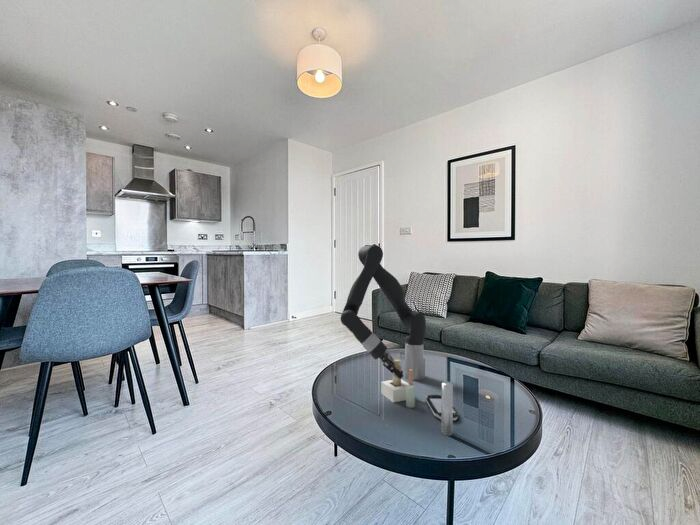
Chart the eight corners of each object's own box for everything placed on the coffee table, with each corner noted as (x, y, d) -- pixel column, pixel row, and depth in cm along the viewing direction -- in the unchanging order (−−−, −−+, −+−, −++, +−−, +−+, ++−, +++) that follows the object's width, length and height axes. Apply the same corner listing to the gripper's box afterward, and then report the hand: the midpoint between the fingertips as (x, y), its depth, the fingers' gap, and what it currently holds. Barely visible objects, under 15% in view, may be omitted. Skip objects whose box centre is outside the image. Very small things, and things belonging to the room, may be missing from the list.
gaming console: (423, 399, 124) (423, 393, 124) (444, 399, 124) (444, 393, 124) (437, 423, 105) (437, 416, 105) (462, 423, 104) (461, 416, 105)
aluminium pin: (447, 428, 100) (447, 380, 101) (455, 434, 97) (455, 384, 97) (439, 431, 99) (439, 382, 99) (446, 436, 95) (446, 386, 96)
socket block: (400, 389, 133) (400, 363, 133) (413, 398, 124) (413, 370, 124) (381, 393, 129) (381, 365, 129) (393, 402, 120) (393, 373, 120)
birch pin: (397, 386, 129) (398, 359, 129) (402, 389, 125) (402, 361, 126) (390, 387, 127) (391, 360, 128) (395, 390, 124) (395, 362, 124)
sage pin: (411, 403, 119) (411, 384, 120) (416, 406, 116) (416, 387, 116) (404, 404, 118) (404, 385, 118) (409, 408, 115) (409, 389, 115)
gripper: (379, 344, 121) (408, 375, 119) (380, 336, 135) (407, 364, 133) (366, 356, 122) (395, 387, 119) (369, 347, 136) (395, 375, 133)
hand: (401, 375), depth 126 cm, fingers closed on birch pin, 3 cm apart
